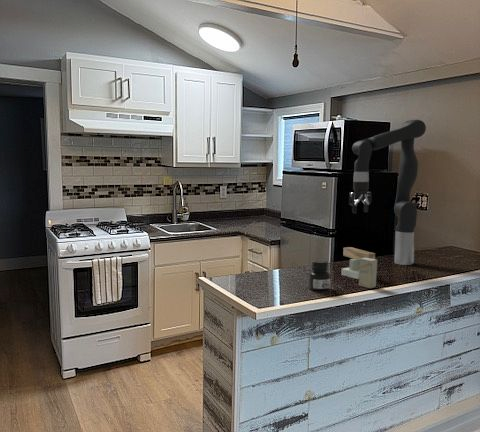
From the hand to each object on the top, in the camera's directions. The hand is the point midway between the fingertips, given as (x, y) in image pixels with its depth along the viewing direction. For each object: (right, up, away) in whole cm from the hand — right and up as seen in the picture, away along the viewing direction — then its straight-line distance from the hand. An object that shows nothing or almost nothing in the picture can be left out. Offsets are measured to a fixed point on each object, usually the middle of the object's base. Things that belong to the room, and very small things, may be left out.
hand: (360, 212), depth 234 cm
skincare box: (-6, -32, -34) cm, 48 cm away
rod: (-5, -22, -15) cm, 27 cm away
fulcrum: (-5, -30, -15) cm, 34 cm away
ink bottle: (-27, -33, -38) cm, 57 cm away
